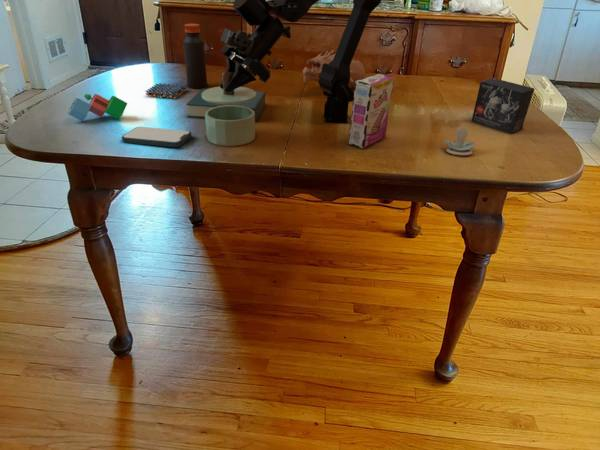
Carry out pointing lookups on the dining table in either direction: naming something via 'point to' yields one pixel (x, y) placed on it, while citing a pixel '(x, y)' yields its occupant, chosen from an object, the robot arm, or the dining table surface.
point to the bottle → (194, 57)
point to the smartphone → (157, 136)
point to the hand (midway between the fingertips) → (223, 89)
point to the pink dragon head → (317, 63)
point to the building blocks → (97, 107)
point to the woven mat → (166, 90)
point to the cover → (231, 97)
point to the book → (200, 106)
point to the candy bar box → (370, 110)
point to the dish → (230, 125)
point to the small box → (502, 105)
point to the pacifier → (460, 143)
